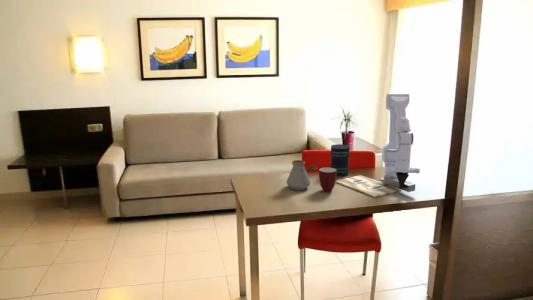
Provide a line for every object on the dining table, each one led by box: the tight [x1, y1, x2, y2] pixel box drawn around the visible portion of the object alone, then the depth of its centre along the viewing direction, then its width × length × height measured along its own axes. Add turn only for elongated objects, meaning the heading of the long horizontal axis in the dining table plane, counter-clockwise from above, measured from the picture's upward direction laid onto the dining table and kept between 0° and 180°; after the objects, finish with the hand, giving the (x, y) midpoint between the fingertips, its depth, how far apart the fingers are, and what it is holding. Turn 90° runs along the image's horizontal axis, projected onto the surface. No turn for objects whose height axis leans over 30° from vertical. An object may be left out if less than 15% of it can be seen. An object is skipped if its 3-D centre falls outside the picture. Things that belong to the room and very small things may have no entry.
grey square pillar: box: [383, 174, 416, 193], centre depth 180 cm, size 17×4×4 cm, turn 27°
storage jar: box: [329, 143, 351, 177], centre depth 207 cm, size 10×10×15 cm
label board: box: [335, 174, 402, 199], centre depth 188 cm, size 17×26×1 cm, turn 31°
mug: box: [318, 167, 337, 193], centre depth 181 cm, size 11×8×10 cm
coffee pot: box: [286, 159, 319, 191], centre depth 182 cm, size 21×12×15 cm, turn 24°
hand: (401, 188), depth 174 cm, fingers closed
